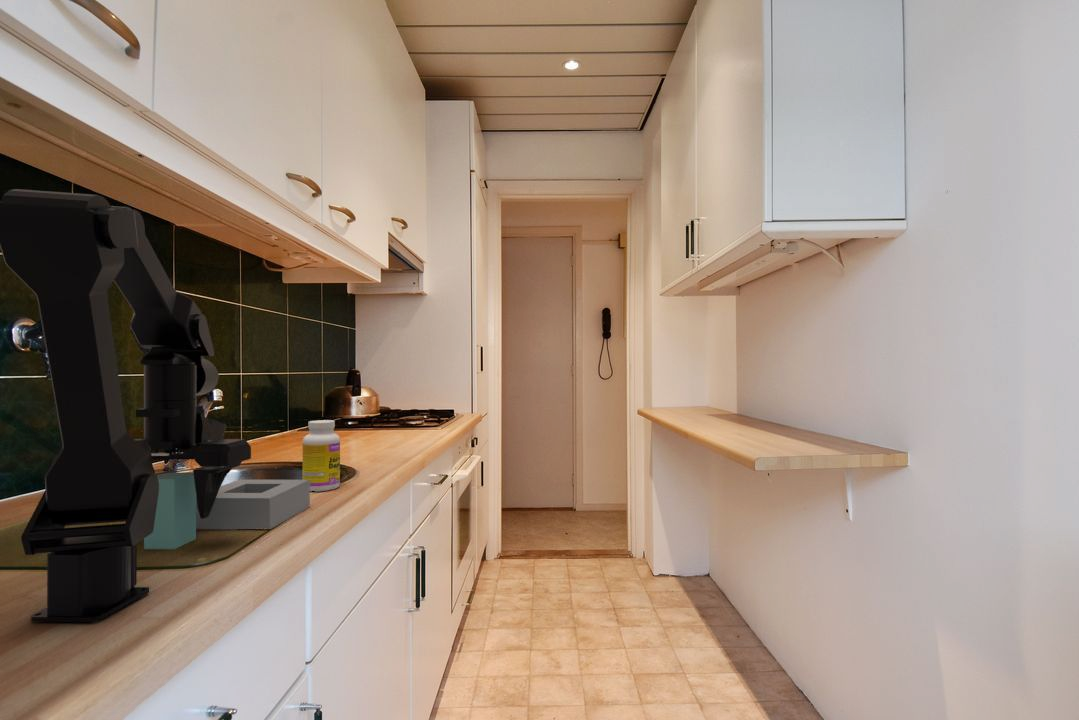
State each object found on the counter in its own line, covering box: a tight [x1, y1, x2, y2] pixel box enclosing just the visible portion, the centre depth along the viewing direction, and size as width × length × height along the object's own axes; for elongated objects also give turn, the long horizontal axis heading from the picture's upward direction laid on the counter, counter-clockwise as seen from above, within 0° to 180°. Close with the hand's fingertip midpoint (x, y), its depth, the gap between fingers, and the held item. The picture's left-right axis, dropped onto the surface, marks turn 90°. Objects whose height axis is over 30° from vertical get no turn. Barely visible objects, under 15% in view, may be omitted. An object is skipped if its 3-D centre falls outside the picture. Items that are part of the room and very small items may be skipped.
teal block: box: [143, 472, 197, 550], centre depth 69 cm, size 4×4×9 cm
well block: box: [196, 479, 311, 531], centre depth 81 cm, size 12×12×4 cm
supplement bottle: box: [301, 419, 341, 493], centre depth 100 cm, size 7×7×13 cm
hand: (170, 517), depth 69 cm, fingers open, 9 cm apart
